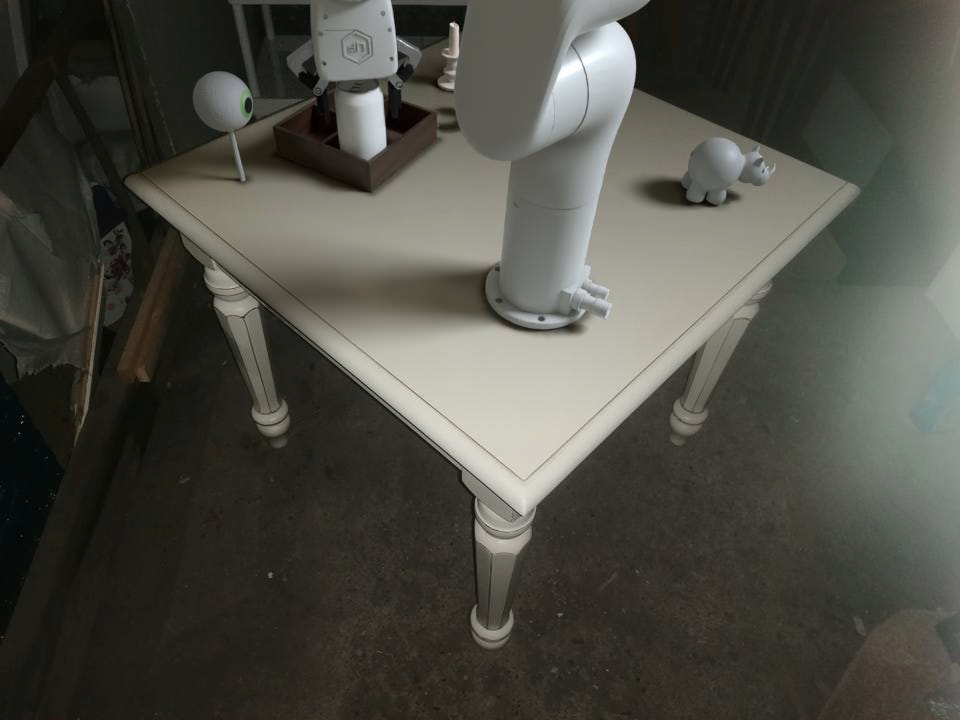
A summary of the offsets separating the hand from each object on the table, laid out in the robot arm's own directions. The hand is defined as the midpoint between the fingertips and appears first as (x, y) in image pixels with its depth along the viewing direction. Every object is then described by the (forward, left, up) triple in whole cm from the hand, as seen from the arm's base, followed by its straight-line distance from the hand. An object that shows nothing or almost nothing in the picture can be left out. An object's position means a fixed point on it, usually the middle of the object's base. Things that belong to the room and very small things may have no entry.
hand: (360, 115), depth 90 cm
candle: (+3, -29, -8) cm, 30 cm away
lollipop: (+12, +12, -8) cm, 19 cm away
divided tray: (+4, -4, -8) cm, 10 cm away
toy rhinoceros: (-46, -23, -8) cm, 52 cm away
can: (0, 0, -8) cm, 8 cm away
